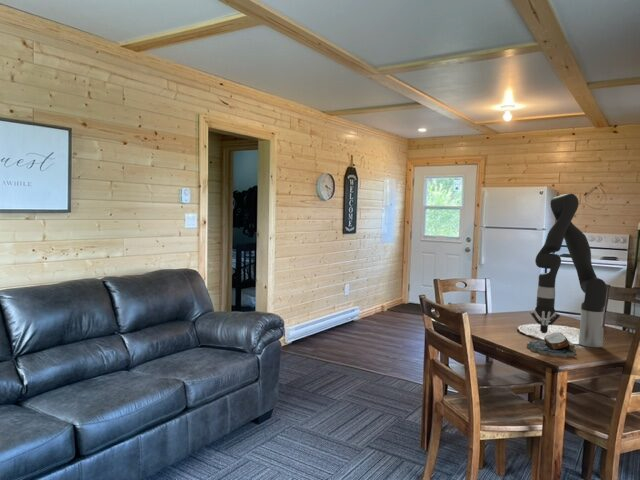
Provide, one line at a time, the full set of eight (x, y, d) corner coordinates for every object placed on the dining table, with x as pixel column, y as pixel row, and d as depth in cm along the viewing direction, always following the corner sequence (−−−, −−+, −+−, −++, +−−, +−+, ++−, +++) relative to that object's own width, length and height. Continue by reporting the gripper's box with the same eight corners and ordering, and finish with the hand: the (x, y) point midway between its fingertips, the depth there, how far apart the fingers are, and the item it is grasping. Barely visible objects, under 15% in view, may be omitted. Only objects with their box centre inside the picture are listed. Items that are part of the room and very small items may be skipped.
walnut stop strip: (562, 341, 224) (562, 336, 224) (574, 350, 208) (574, 345, 208) (557, 340, 224) (558, 335, 224) (569, 350, 209) (570, 345, 208)
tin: (552, 350, 210) (572, 346, 208) (550, 343, 210) (570, 339, 208) (543, 341, 224) (561, 337, 223) (541, 334, 224) (559, 330, 223)
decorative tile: (517, 347, 221) (518, 342, 220) (547, 343, 229) (548, 339, 229) (554, 360, 202) (554, 355, 202) (585, 355, 211) (585, 350, 210)
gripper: (558, 295, 219) (556, 331, 220) (528, 293, 221) (526, 329, 222) (563, 298, 212) (561, 336, 213) (533, 296, 214) (530, 333, 215)
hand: (543, 332), depth 218 cm, fingers closed
